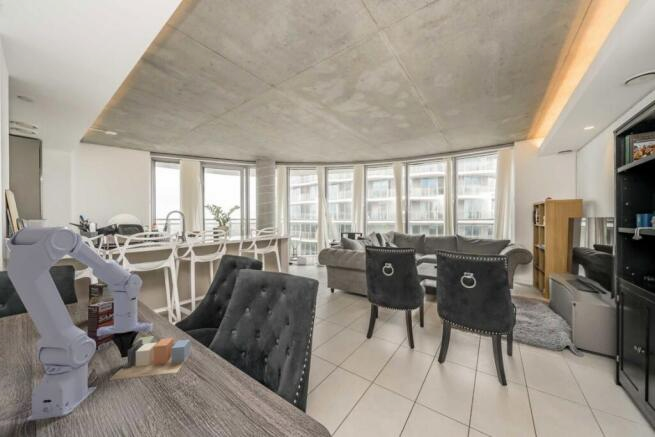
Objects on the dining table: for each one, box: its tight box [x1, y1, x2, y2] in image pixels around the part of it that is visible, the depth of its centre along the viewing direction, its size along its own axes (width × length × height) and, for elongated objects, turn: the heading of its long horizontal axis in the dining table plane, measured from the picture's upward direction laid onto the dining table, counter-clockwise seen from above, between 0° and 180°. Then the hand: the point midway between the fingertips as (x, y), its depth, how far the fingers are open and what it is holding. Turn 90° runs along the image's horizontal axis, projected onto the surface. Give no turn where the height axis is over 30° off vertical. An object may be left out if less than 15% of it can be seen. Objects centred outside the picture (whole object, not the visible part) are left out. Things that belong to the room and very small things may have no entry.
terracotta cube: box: [154, 337, 175, 364], centre depth 79 cm, size 5×4×6 cm
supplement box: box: [86, 299, 115, 354], centre depth 89 cm, size 9×5×16 cm, turn 168°
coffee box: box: [88, 281, 114, 306], centre depth 116 cm, size 9×6×16 cm
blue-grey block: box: [172, 339, 191, 362], centre depth 80 cm, size 5×4×4 cm
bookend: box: [121, 339, 142, 369], centre depth 78 cm, size 6×2×6 cm, turn 11°
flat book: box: [136, 335, 155, 346], centre depth 91 cm, size 6×4×2 cm
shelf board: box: [108, 350, 192, 381], centre depth 76 cm, size 12×18×1 cm
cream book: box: [136, 342, 158, 366], centre depth 78 cm, size 5×4×4 cm
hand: (125, 355), depth 77 cm, fingers closed
